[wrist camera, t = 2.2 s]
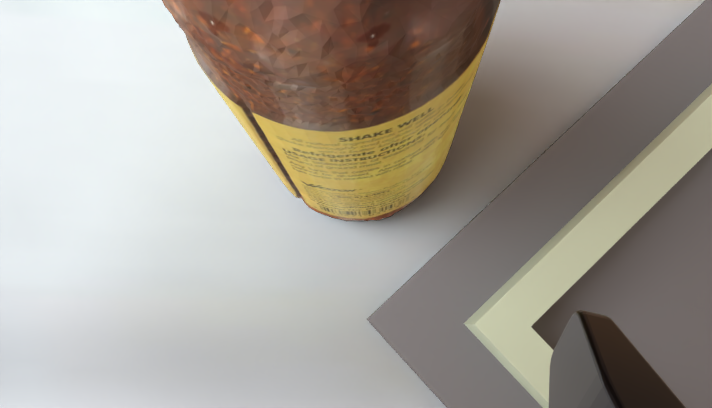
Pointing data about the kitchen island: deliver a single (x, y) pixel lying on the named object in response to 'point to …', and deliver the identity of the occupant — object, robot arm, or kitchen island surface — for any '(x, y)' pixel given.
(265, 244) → the kitchen island surface
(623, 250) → the rubber mat
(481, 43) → the sauce bottle
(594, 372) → the robot arm
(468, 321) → the bottle collar
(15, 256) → the kitchen island surface
